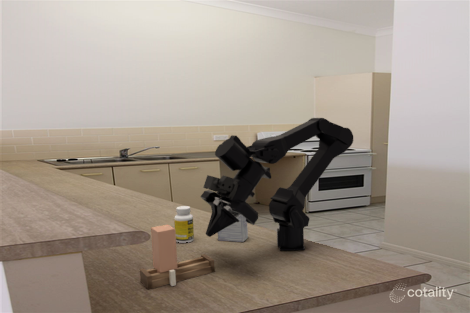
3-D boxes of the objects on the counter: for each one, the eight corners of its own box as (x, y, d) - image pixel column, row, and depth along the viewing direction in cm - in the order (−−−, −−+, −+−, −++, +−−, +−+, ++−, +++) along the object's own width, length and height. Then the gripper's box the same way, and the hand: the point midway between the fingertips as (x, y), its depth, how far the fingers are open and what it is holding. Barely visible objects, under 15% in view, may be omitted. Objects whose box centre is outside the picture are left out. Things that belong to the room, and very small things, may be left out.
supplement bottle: (190, 243, 115) (189, 209, 114) (172, 243, 116) (170, 209, 115) (196, 237, 121) (194, 205, 120) (179, 237, 122) (177, 205, 121)
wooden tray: (204, 264, 99) (204, 253, 99) (215, 272, 94) (214, 260, 94) (140, 281, 91) (139, 269, 91) (148, 289, 86) (147, 277, 86)
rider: (170, 266, 94) (167, 224, 93) (177, 272, 90) (175, 228, 89) (153, 270, 92) (150, 227, 91) (160, 277, 88) (157, 232, 87)
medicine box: (248, 237, 119) (247, 208, 118) (243, 242, 115) (242, 212, 114) (222, 236, 121) (221, 207, 120) (217, 240, 117) (216, 211, 116)
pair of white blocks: (162, 273, 95) (161, 259, 95) (176, 285, 88) (175, 270, 88) (158, 274, 94) (157, 260, 94) (171, 286, 88) (170, 271, 87)
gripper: (204, 158, 104) (167, 208, 100) (243, 165, 88) (201, 225, 84) (233, 184, 109) (199, 233, 105) (275, 195, 93) (236, 253, 89)
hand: (207, 235), depth 96 cm, fingers closed
